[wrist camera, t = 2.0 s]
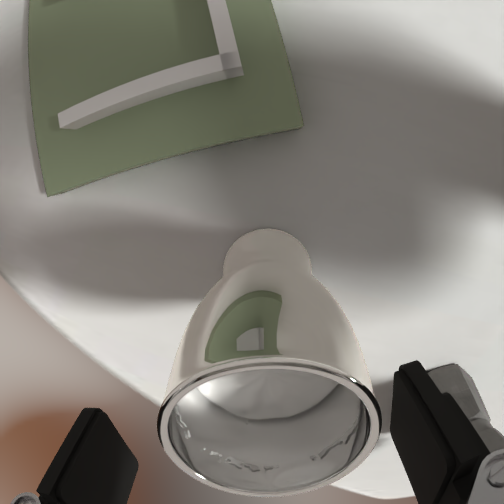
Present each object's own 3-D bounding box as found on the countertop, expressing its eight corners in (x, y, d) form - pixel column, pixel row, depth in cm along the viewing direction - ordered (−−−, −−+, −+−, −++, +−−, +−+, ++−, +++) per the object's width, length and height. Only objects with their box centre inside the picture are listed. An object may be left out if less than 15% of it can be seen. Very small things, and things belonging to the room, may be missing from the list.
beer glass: (196, 264, 22) (105, 420, 8) (274, 199, 21) (298, 293, 6) (260, 332, 24) (253, 515, 9) (336, 277, 22) (421, 440, 8)
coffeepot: (373, 382, 25) (440, 564, 8) (463, 330, 23) (579, 468, 6) (407, 457, 28) (448, 578, 11) (475, 419, 27) (536, 526, 9)
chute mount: (238, -83, 14) (234, -111, 10) (300, 128, 19) (308, 121, 16) (42, -9, 16) (18, -23, 12) (62, 193, 21) (30, 201, 17)
